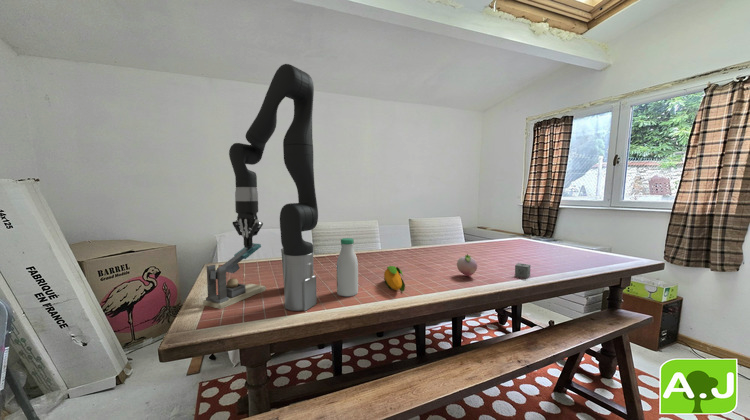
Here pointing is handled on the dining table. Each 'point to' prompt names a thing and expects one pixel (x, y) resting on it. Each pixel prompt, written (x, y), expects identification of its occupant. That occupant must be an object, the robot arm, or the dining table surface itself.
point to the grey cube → (522, 270)
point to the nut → (232, 283)
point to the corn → (394, 278)
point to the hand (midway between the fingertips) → (248, 247)
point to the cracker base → (227, 290)
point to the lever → (237, 260)
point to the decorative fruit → (467, 265)
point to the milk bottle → (347, 269)
